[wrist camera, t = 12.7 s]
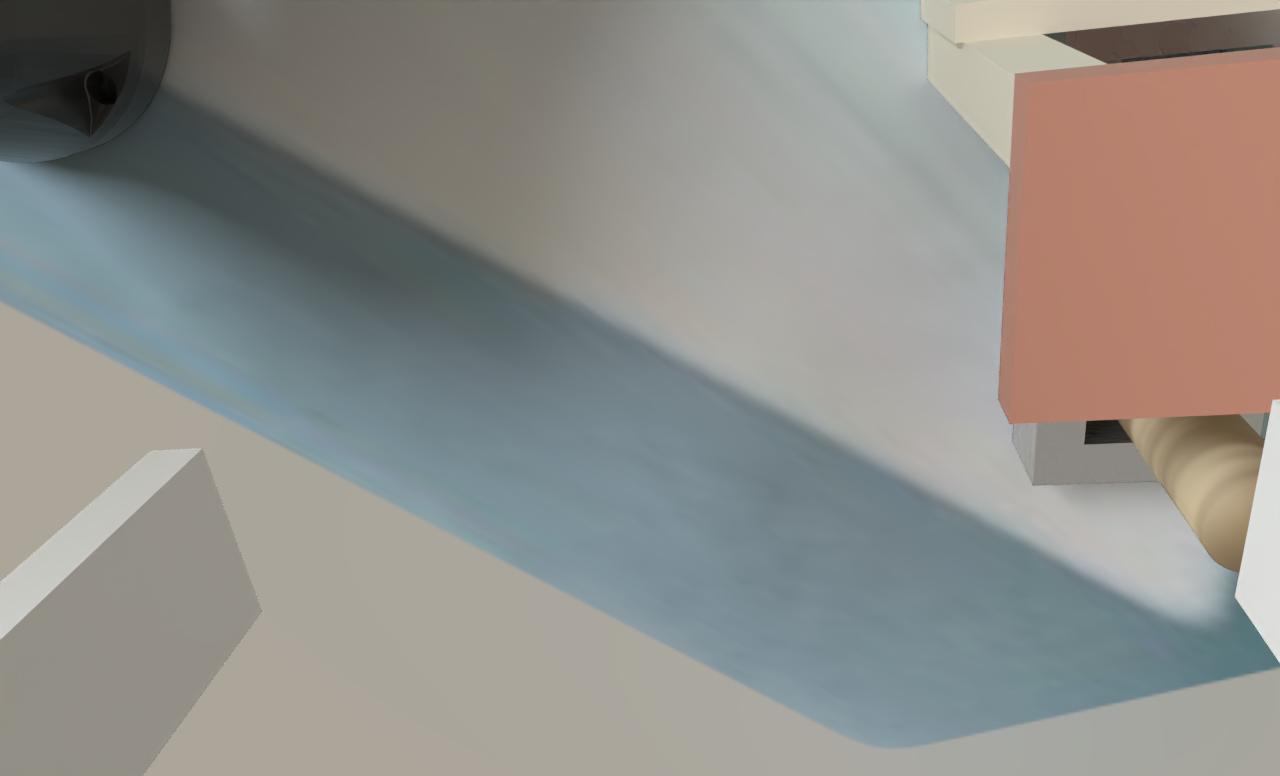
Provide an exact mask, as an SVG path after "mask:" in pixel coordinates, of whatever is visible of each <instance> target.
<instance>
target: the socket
mask: <svg viewBox="0 0 1280 776" xmlns="http://www.w3.org/2000/svg"><path fill="white" fill-rule="evenodd" d="M1240 415H1241V416H1242V417H1243V418H1244V419H1245V421H1246V422H1247V423H1248V424H1249V425H1250V426H1251V427H1252V428H1253V429H1254V430H1255V431H1256V432H1257V433H1258V434H1259V436H1261V431H1262V426H1263V421H1264V415H1265V413H1255V414H1240ZM1012 441H1013V443H1014V446H1015V448H1016V450H1017V452H1018V454H1019V457H1020V459H1021V461H1022V463H1023V465H1024V467H1025V470H1026V472H1027V474H1028V476H1029V478H1030V481H1031V483H1032V485H1061V484H1091V483H1121V482H1151V481H1159V480H1158V479H1157V477H1156V476H1155V474H1154V473H1153V471H1152V470H1151V468H1150V467H1149V466H1148V464H1147V463H1146V461H1145V460H1144V458H1143V457H1142V455H1141V454H1140V452H1139V451H1138V449H1137V448H1136V446H1135V445H1134V443H1133V442H1132V441H1131V439H1130V438H1129V436H1128V435H1127V433H1126V432H1125V430H1124V429H1123V427H1122V426H1121V424H1120V423H1119V421H1118V420H1094V421H1071V422H1048V423H1025V424H1013V440H1012Z"/></svg>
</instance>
